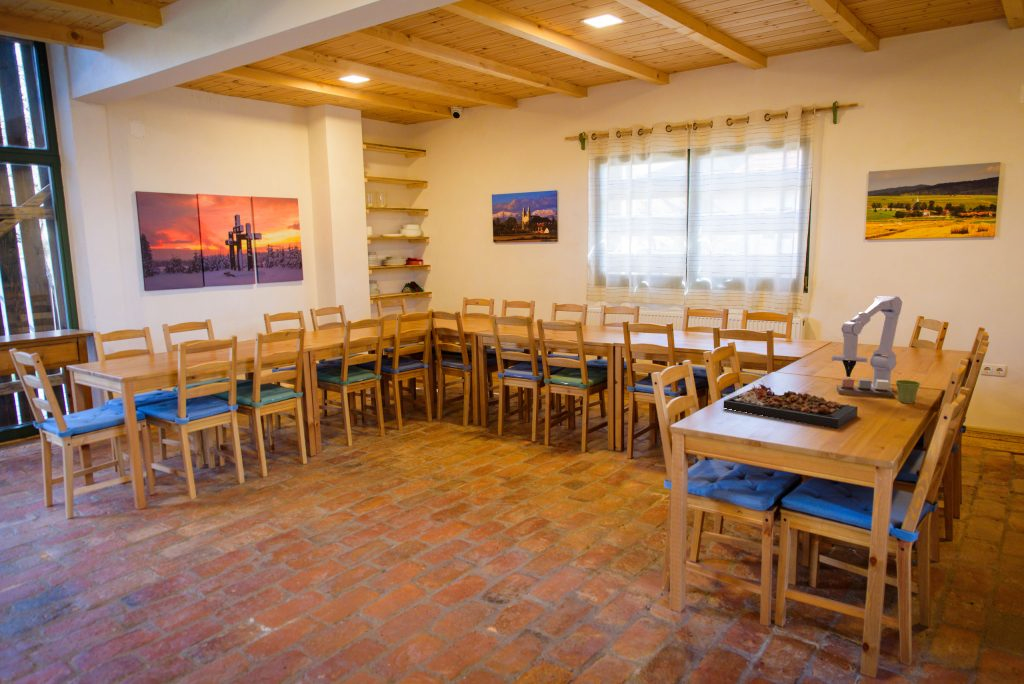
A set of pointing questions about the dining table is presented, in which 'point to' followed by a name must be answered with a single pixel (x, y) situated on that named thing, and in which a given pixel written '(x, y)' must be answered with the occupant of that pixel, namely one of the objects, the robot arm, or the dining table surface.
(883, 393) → the brown flat board
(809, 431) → the dining table surface
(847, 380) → the brick key
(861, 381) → the slate key
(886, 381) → the ivory key
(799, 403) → the food platter
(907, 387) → the plant pot
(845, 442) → the dining table surface
